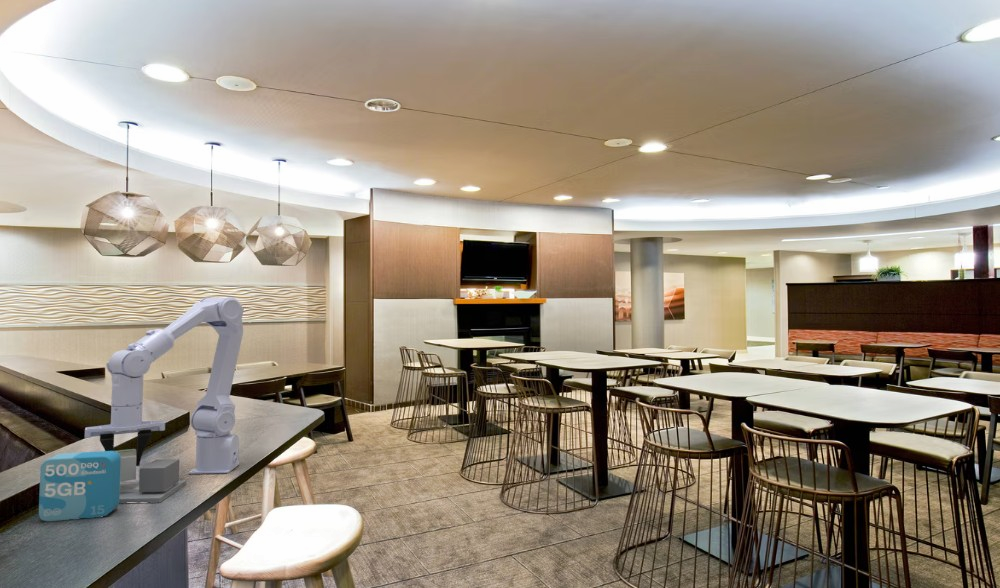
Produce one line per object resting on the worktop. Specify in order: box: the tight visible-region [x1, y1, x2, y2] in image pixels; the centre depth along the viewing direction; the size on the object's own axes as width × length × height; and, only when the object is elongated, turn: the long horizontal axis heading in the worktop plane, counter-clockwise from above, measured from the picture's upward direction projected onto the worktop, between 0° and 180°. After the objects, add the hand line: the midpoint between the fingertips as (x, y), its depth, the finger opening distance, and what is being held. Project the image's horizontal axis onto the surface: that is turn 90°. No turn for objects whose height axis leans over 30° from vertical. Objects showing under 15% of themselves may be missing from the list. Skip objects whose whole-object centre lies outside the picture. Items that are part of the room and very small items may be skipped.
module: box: [115, 448, 137, 482], centre depth 120 cm, size 4×7×5 cm, turn 35°
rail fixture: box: [119, 458, 187, 504], centre depth 120 cm, size 20×12×7 cm, turn 97°
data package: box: [38, 450, 121, 522], centre depth 108 cm, size 12×4×12 cm, turn 105°
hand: (125, 466), depth 120 cm, fingers closed on module, 4 cm apart
